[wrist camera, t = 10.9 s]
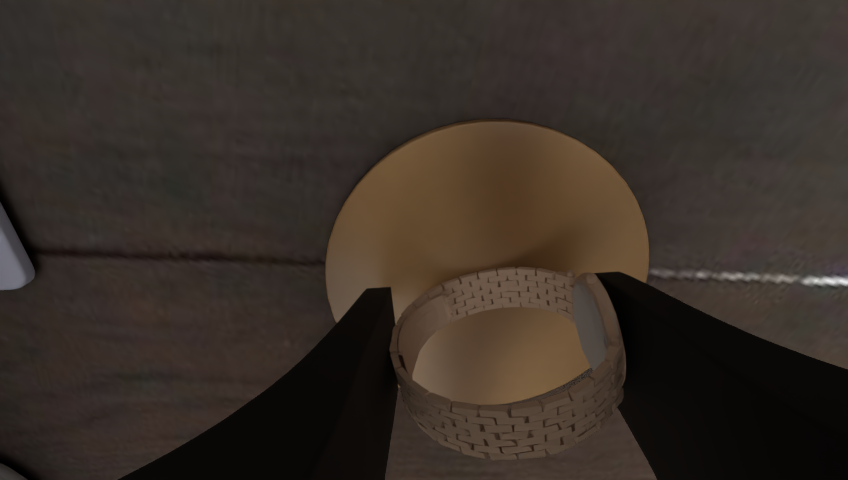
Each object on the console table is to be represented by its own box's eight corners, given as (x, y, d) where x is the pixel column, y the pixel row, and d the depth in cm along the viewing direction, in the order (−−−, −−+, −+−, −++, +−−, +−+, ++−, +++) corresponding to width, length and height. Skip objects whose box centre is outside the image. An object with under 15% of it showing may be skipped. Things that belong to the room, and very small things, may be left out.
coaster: (352, 405, 14) (350, 414, 14) (299, 133, 11) (294, 136, 10) (623, 388, 14) (628, 397, 14) (666, 104, 10) (675, 106, 10)
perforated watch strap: (571, 311, 12) (659, 466, 8) (409, 339, 13) (402, 503, 8) (564, 227, 11) (662, 350, 7) (388, 260, 12) (365, 398, 7)
